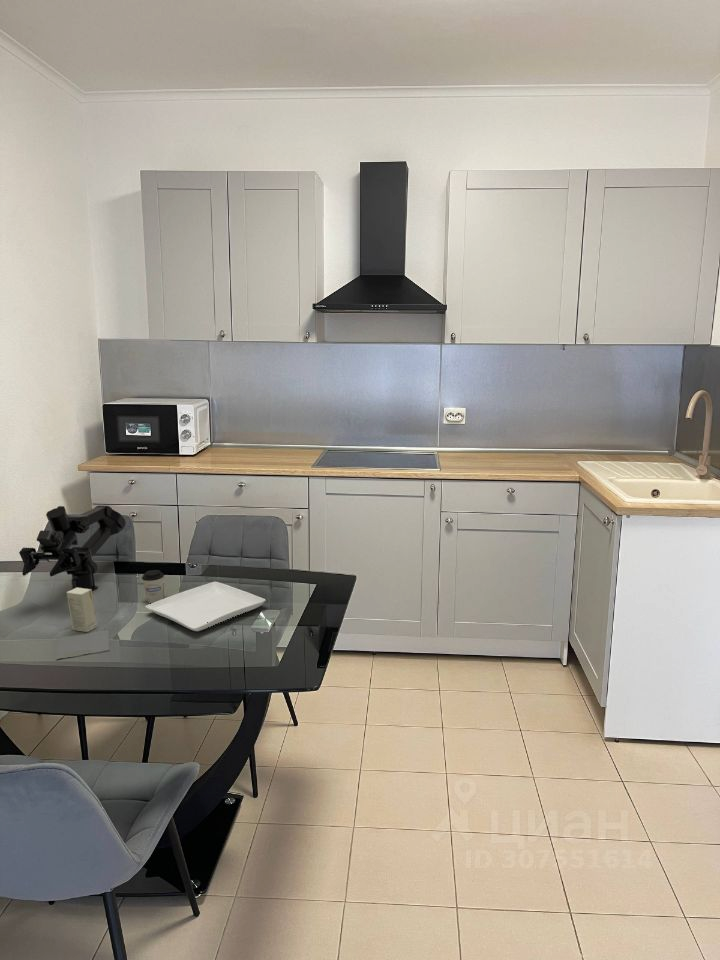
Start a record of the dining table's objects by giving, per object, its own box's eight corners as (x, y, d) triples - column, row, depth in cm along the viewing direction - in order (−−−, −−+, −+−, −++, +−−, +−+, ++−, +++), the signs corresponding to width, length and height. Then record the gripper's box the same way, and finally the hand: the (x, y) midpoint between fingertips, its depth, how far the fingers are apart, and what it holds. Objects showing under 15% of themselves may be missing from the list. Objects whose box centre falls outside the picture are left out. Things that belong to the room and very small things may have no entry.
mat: (58, 639, 214) (58, 638, 214) (108, 630, 219) (108, 629, 219) (56, 660, 201) (55, 659, 201) (109, 650, 206) (109, 649, 206)
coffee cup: (148, 597, 243) (145, 568, 241) (169, 596, 243) (166, 568, 241) (141, 605, 236) (138, 576, 234) (163, 605, 236) (159, 576, 234)
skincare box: (98, 627, 222) (93, 589, 219) (87, 633, 218) (82, 594, 215) (82, 623, 224) (76, 586, 222) (71, 629, 221) (65, 591, 218)
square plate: (268, 609, 231) (267, 598, 230) (195, 640, 211) (193, 627, 210) (216, 589, 249) (215, 578, 248) (144, 616, 229) (143, 604, 228)
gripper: (26, 522, 235) (-1, 553, 222) (80, 523, 232) (56, 555, 219) (38, 549, 241) (12, 581, 228) (90, 550, 238) (67, 583, 225)
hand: (36, 574), depth 225 cm, fingers open, 9 cm apart
